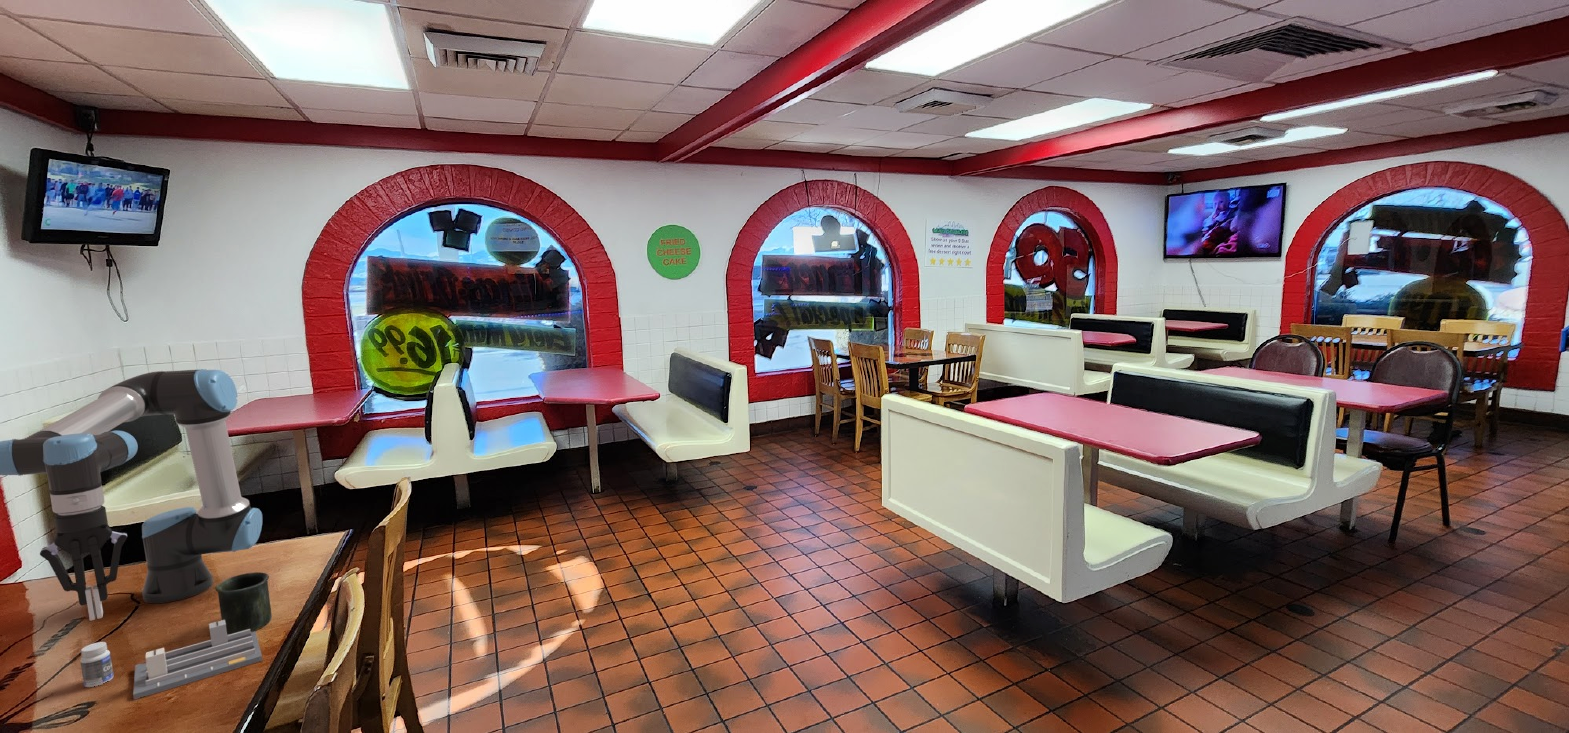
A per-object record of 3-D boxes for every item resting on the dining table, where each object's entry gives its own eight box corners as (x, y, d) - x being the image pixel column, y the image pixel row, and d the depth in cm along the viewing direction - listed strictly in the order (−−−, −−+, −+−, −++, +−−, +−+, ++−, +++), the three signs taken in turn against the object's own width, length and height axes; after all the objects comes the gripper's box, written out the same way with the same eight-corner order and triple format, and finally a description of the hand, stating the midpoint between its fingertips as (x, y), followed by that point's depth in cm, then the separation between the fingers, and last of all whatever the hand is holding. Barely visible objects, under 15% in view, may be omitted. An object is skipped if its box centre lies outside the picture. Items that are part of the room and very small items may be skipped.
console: (136, 669, 158) (131, 642, 157) (256, 635, 172) (252, 610, 171) (133, 699, 147) (129, 670, 146) (262, 660, 161) (259, 633, 160)
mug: (221, 641, 170) (215, 595, 168) (220, 619, 181) (214, 575, 179) (275, 626, 177) (270, 582, 175) (271, 606, 188) (266, 564, 186)
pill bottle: (110, 683, 153) (105, 648, 152) (81, 690, 150) (75, 654, 149) (116, 673, 157) (111, 638, 156) (87, 679, 154) (82, 644, 153)
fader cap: (149, 675, 153) (145, 652, 152) (167, 670, 155) (164, 647, 154) (149, 681, 151) (145, 657, 150) (167, 676, 153) (164, 652, 152)
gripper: (29, 522, 135) (48, 635, 138) (123, 506, 143) (139, 612, 147) (34, 512, 140) (52, 621, 144) (125, 497, 149) (140, 600, 152)
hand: (96, 616), depth 145 cm, fingers closed
